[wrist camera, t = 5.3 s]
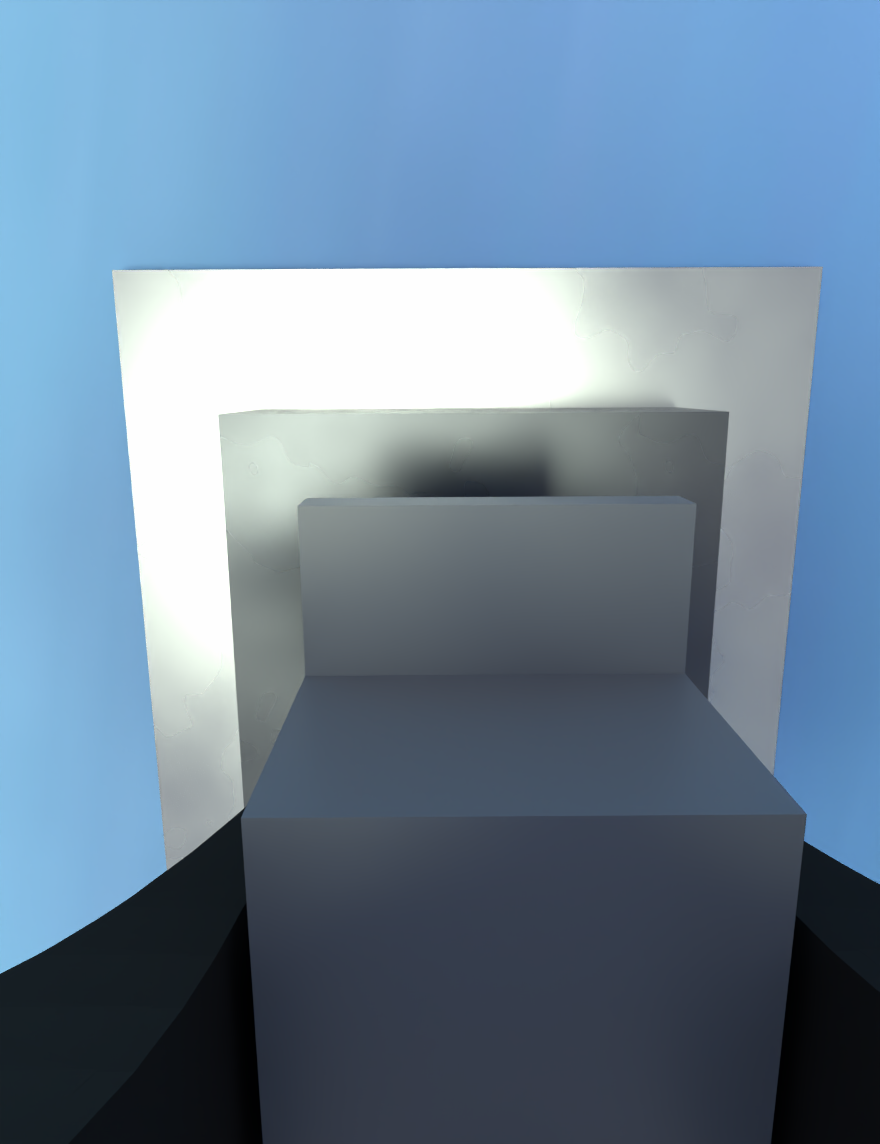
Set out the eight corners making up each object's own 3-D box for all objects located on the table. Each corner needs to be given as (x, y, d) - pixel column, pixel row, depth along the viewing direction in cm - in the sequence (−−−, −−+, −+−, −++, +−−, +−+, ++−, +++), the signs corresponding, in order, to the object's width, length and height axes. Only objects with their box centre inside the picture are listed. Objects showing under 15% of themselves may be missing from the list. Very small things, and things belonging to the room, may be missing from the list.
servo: (617, 467, 12) (902, 598, 4) (591, 1028, 14) (757, 1715, 7) (339, 469, 12) (187, 602, 4) (358, 1030, 14) (274, 1719, 7)
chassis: (809, 270, 16) (910, 239, 13) (745, 950, 20) (810, 1070, 16) (123, 274, 16) (37, 244, 13) (183, 954, 20) (130, 1075, 16)
